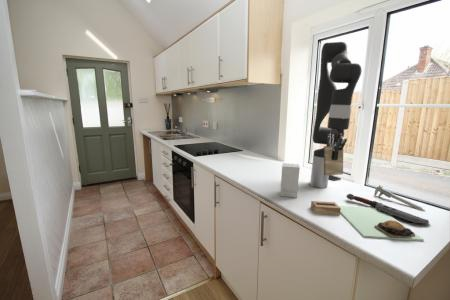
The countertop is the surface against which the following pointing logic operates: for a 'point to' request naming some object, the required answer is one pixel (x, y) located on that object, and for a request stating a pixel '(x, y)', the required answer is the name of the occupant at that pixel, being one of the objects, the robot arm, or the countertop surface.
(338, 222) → the countertop surface
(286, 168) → the skincare box
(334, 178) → the phone
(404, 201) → the caliper
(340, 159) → the board
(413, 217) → the knife
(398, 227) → the bread roll
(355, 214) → the mat
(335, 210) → the stand
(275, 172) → the countertop surface
